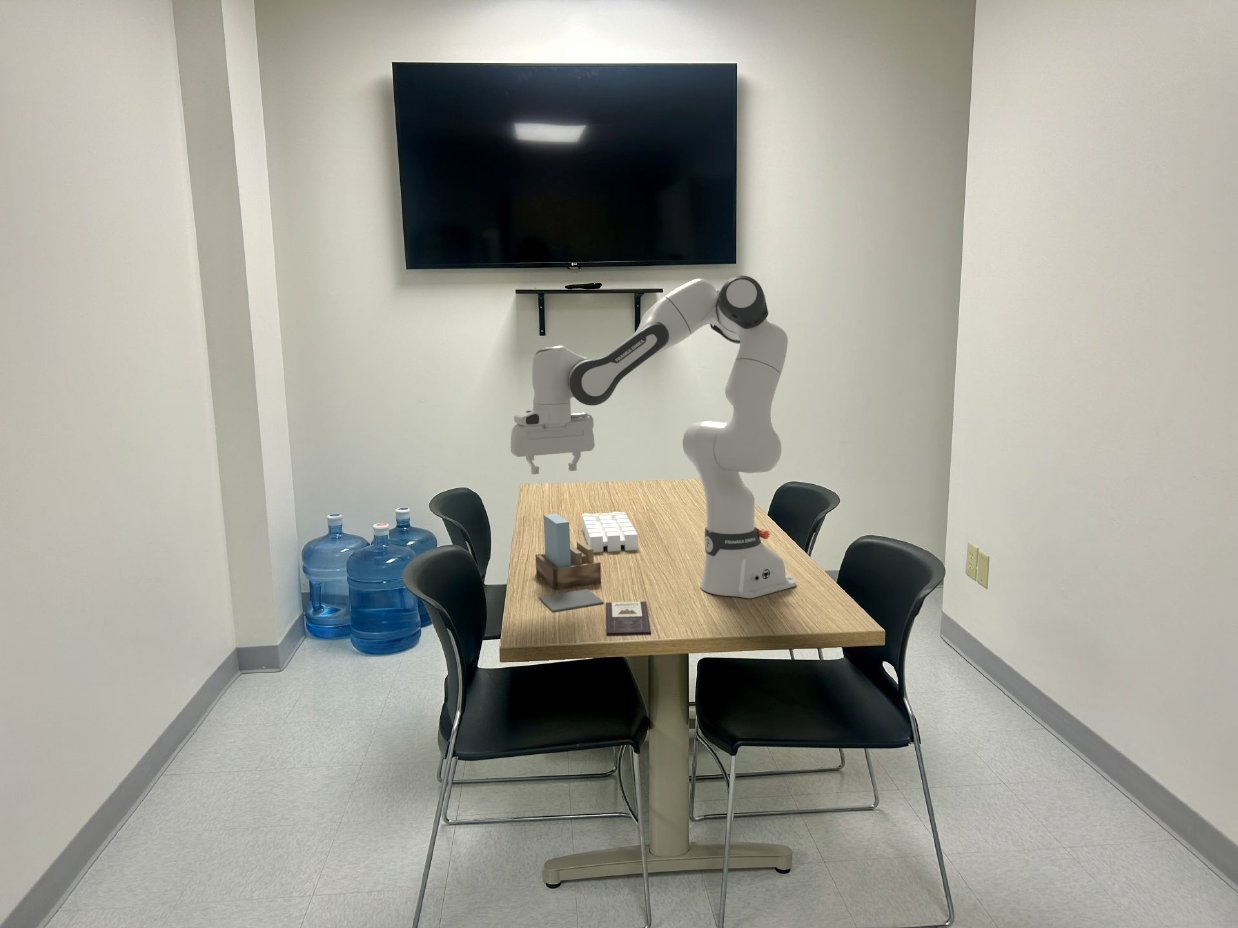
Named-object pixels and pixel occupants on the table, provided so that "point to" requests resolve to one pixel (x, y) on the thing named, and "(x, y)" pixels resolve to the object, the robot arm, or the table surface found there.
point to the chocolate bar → (627, 618)
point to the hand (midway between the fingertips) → (554, 472)
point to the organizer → (609, 531)
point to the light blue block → (557, 540)
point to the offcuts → (581, 554)
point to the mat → (570, 600)
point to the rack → (567, 574)
